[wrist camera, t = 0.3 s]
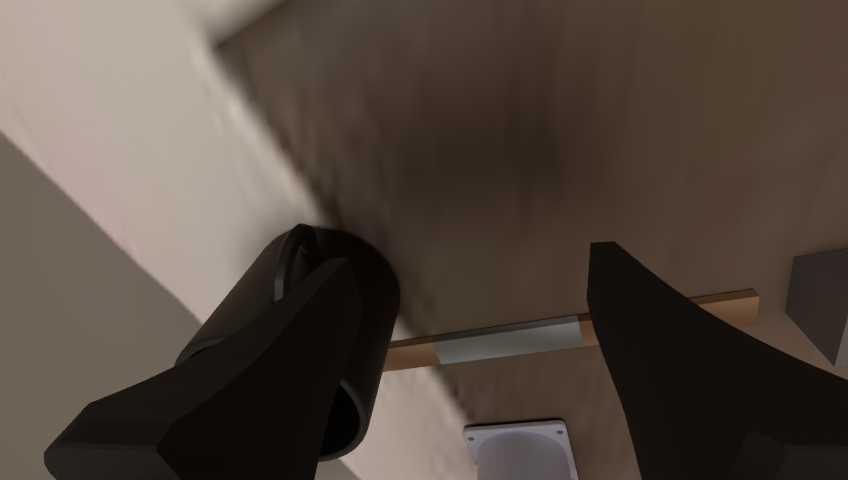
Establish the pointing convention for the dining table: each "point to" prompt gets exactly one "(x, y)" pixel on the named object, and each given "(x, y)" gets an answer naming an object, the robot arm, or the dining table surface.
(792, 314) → the die
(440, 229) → the dining table surface
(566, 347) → the wooden stick
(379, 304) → the mug
